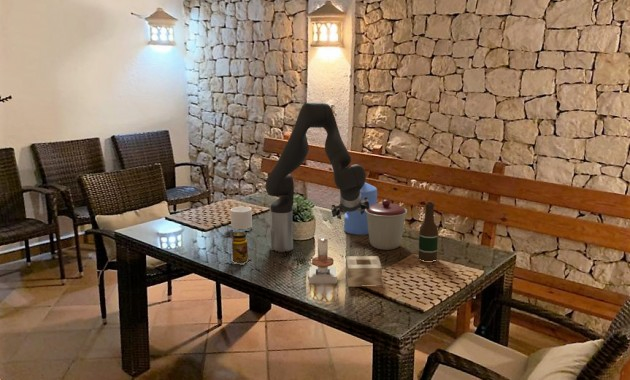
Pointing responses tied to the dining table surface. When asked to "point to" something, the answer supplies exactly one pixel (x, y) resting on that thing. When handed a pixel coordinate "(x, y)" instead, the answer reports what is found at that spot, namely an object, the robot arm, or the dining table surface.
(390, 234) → the canister
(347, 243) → the dining table surface
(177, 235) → the dining table surface
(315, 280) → the pin stand
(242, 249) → the condiment
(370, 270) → the block
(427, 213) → the beer bottle
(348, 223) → the water jug
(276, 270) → the dining table surface
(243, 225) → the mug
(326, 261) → the pin
